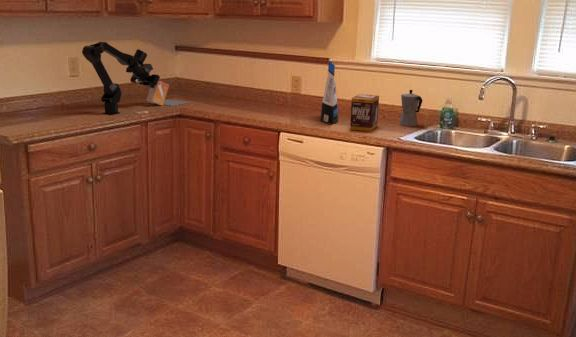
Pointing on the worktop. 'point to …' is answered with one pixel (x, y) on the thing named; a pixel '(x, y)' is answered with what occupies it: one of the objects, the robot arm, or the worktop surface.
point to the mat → (171, 102)
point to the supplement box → (364, 112)
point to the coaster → (141, 112)
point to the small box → (158, 93)
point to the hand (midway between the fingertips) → (153, 87)
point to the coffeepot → (410, 109)
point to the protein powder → (330, 98)
